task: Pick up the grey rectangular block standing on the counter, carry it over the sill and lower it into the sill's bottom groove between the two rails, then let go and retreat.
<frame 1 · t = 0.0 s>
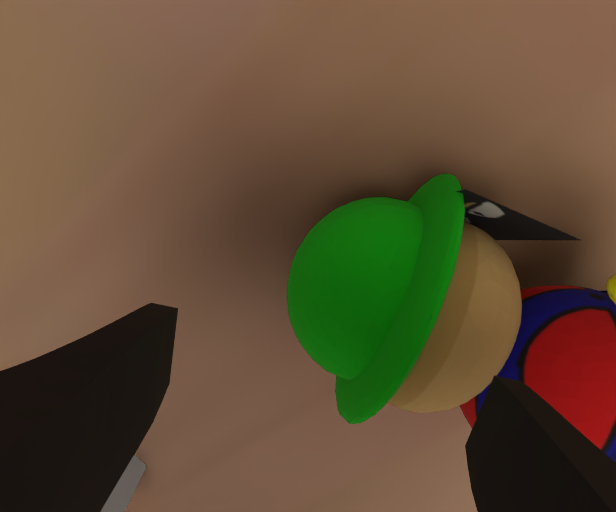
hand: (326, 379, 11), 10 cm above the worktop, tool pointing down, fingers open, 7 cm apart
grey rectangular block: (86, 429, 26), on the worktop
toy: (469, 282, 21), on the worktop
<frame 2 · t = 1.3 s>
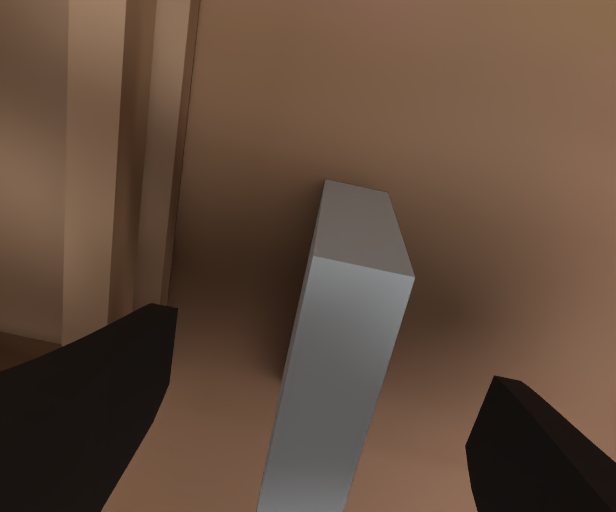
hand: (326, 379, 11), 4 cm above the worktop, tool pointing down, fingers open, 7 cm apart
grey rectangular block: (330, 294, 16), on the worktop
sill track: (61, 104, 14), on the worktop
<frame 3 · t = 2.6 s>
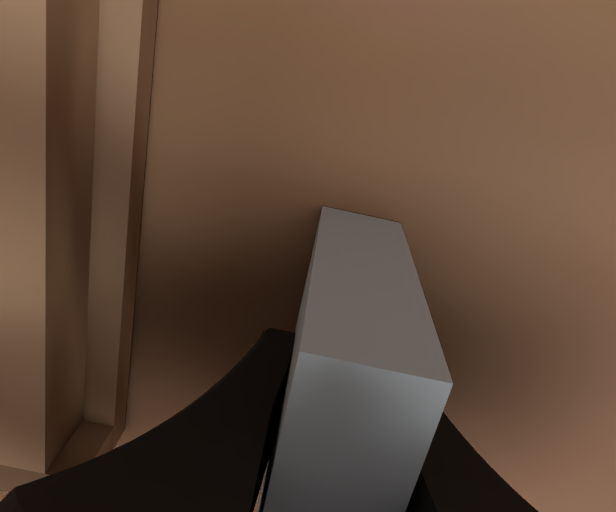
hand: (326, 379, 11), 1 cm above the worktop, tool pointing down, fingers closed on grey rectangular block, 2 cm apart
grey rectangular block: (328, 345, 13), on the worktop, touching gripper
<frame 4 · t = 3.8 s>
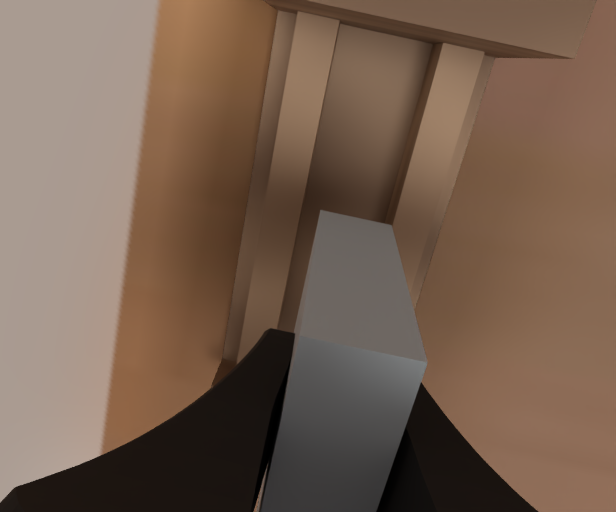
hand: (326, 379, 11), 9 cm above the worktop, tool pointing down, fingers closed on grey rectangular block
grey rectangular block: (326, 337, 14), point 6 cm above the worktop, touching gripper
sill track: (344, 206, 19), on the worktop
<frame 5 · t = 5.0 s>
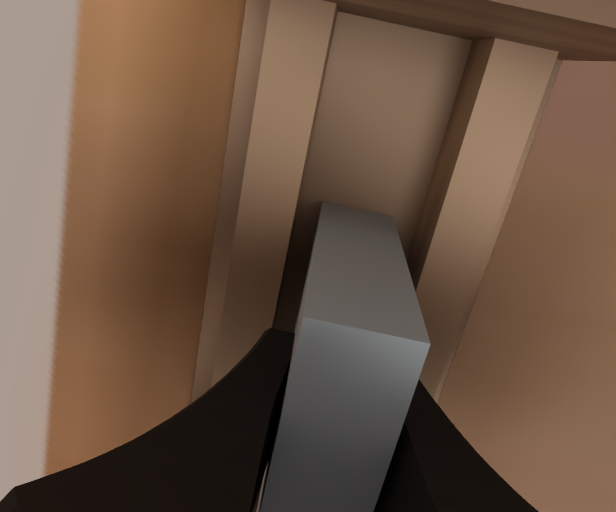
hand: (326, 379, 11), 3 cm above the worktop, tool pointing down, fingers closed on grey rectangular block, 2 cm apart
grey rectangular block: (328, 328, 14), point 1 cm above the worktop, touching gripper, sill track
sill track: (343, 261, 14), on the worktop
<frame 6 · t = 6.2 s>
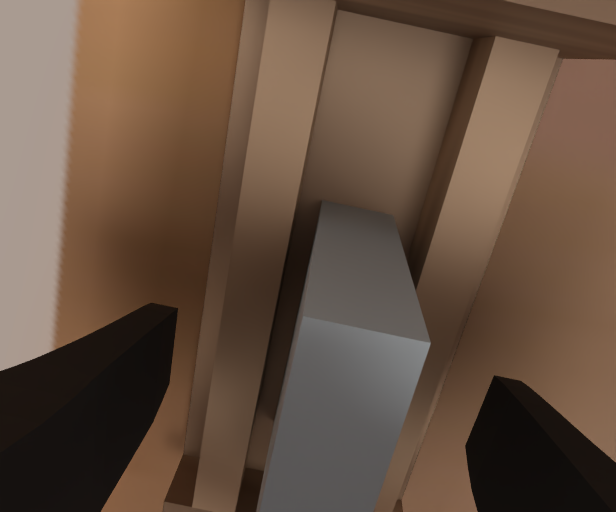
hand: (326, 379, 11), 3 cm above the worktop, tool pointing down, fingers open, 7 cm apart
grey rectangular block: (327, 328, 14), point 1 cm above the worktop, touching sill track
sill track: (343, 260, 14), on the worktop
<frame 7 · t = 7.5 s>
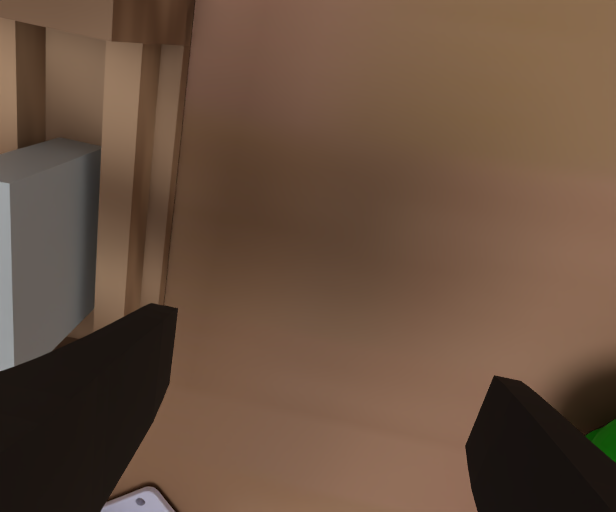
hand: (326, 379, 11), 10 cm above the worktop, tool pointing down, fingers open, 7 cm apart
grey rectangular block: (79, 226, 21), point 1 cm above the worktop, touching sill track
sill track: (91, 181, 21), on the worktop
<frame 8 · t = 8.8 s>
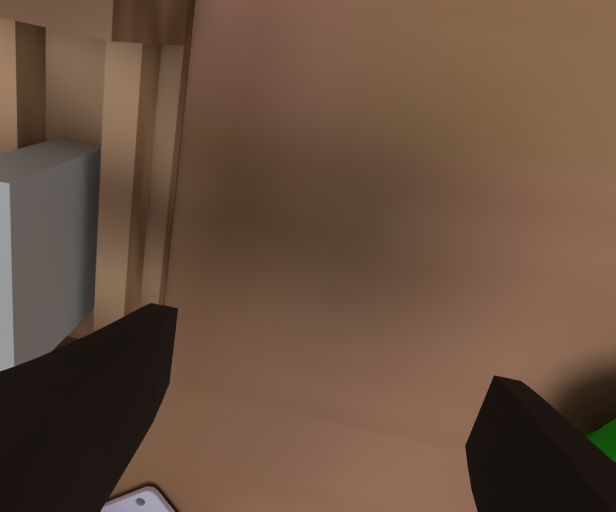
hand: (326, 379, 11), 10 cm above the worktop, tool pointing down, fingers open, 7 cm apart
grey rectangular block: (79, 226, 21), point 1 cm above the worktop, touching sill track
sill track: (91, 181, 21), on the worktop
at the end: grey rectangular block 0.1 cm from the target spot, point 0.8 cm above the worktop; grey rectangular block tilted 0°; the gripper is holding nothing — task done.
